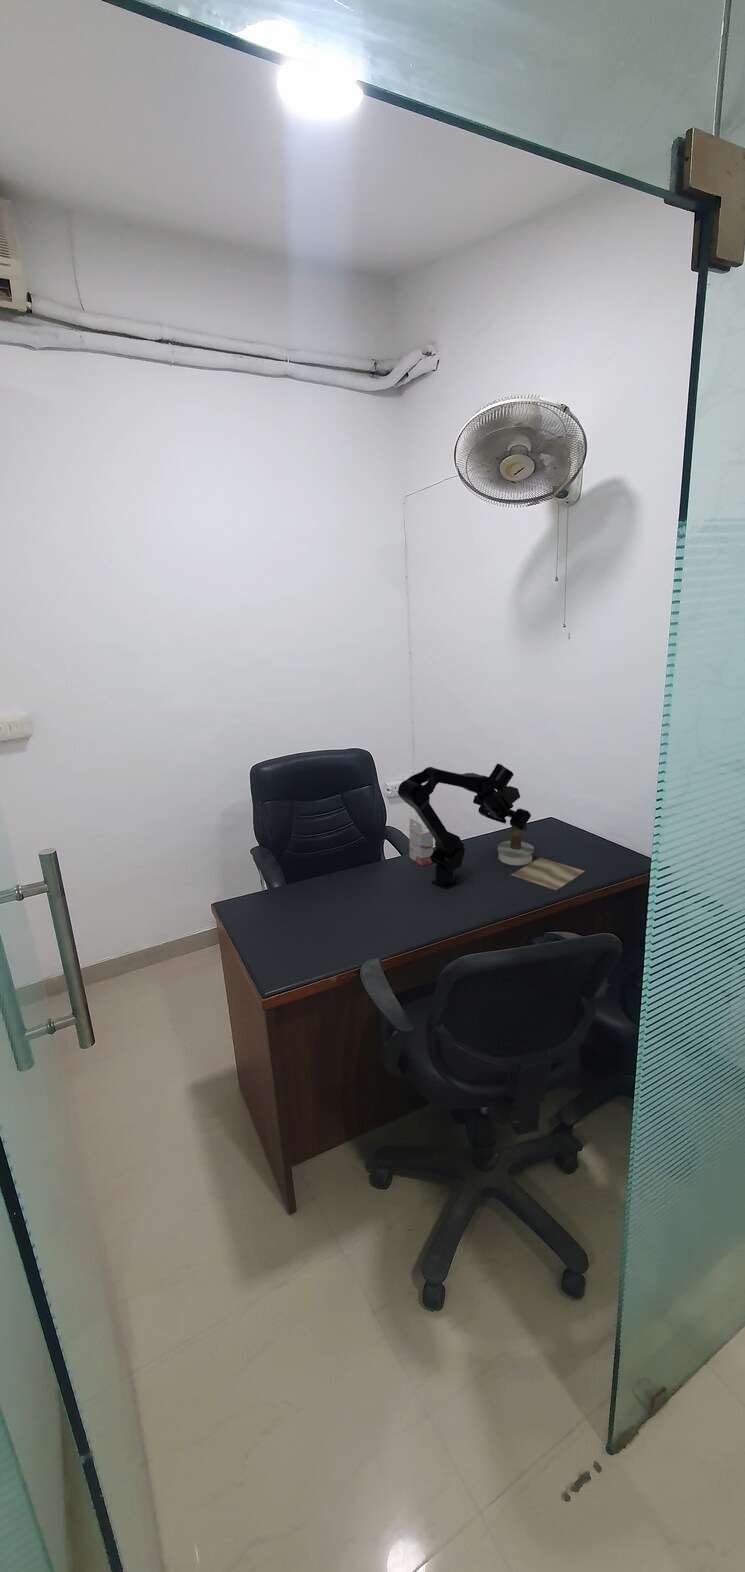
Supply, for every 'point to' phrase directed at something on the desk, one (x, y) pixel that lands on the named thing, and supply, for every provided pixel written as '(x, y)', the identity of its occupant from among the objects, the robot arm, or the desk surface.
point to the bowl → (515, 859)
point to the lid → (515, 846)
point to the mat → (548, 873)
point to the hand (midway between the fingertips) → (515, 826)
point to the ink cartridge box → (420, 843)
